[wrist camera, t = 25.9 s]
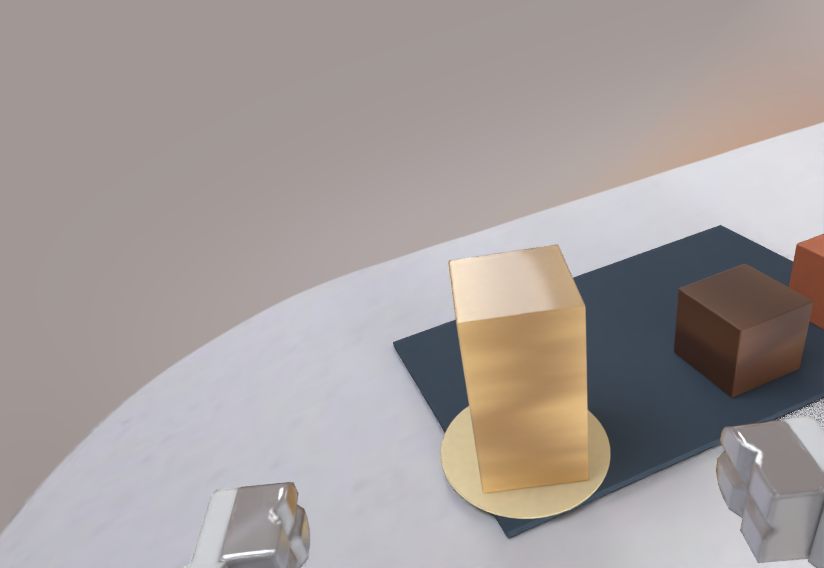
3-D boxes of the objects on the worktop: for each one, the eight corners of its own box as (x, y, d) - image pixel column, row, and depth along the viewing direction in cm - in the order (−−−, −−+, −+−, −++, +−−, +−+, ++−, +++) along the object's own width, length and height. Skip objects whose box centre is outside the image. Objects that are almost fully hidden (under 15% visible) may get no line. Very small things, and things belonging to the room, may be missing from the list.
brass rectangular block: (482, 493, 30) (456, 324, 24) (472, 418, 34) (448, 260, 29) (589, 480, 29) (586, 305, 24) (565, 406, 34) (558, 243, 28)
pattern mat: (485, 553, 28) (484, 546, 27) (376, 352, 41) (375, 346, 41) (947, 346, 33) (949, 338, 33) (720, 229, 47) (720, 223, 46)
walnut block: (731, 398, 32) (741, 330, 30) (673, 352, 36) (677, 288, 34) (799, 369, 33) (814, 300, 31) (736, 326, 37) (744, 262, 35)
